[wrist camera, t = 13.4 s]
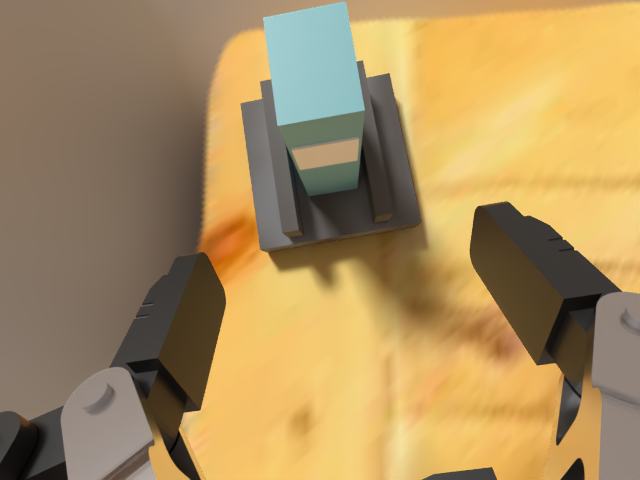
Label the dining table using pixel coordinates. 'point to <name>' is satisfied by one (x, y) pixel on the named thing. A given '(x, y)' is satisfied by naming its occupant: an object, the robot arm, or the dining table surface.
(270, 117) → the book stand
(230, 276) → the dining table surface
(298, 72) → the teal book
